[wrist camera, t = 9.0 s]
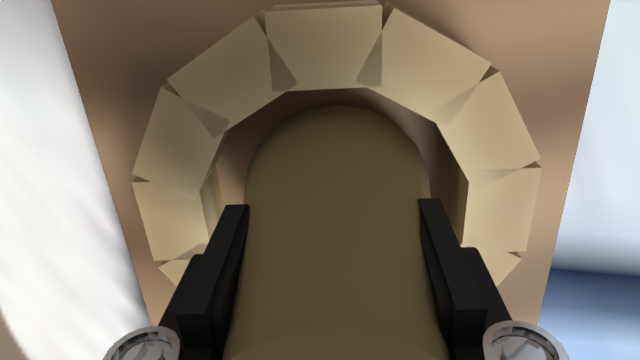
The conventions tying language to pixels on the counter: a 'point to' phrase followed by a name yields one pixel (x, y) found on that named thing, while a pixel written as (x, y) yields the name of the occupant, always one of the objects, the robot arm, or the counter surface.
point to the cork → (335, 245)
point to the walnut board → (336, 102)
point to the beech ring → (335, 73)
